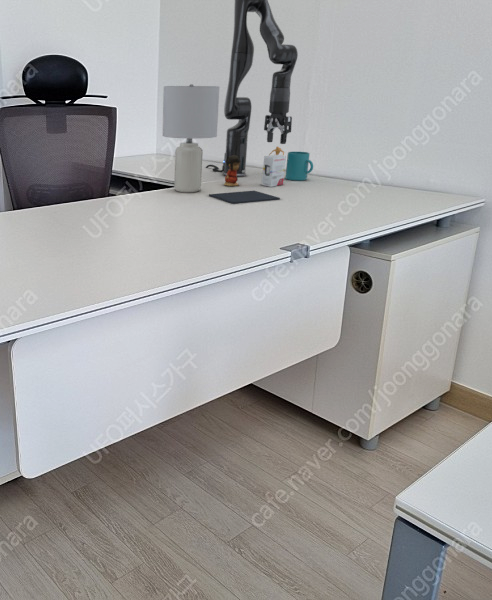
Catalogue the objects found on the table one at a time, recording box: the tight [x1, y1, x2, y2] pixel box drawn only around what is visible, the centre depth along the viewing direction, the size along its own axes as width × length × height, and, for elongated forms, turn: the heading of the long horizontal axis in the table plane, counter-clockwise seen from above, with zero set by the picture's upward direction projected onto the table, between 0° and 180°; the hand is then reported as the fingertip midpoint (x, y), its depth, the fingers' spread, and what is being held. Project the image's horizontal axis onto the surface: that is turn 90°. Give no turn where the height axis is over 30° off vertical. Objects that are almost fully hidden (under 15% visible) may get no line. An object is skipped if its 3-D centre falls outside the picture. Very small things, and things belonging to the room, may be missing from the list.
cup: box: [284, 151, 314, 182], centre depth 253 cm, size 9×12×11 cm
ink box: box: [261, 154, 287, 188], centre depth 240 cm, size 9×5×12 cm, turn 129°
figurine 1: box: [224, 155, 241, 187], centre depth 239 cm, size 6×6×12 cm
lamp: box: [162, 83, 220, 193], centre depth 223 cm, size 20×20×39 cm
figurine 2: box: [268, 146, 285, 156], centre depth 270 cm, size 8×6×12 cm
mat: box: [208, 190, 281, 205], centre depth 217 cm, size 16×20×1 cm
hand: (276, 143), depth 236 cm, fingers open, 8 cm apart
